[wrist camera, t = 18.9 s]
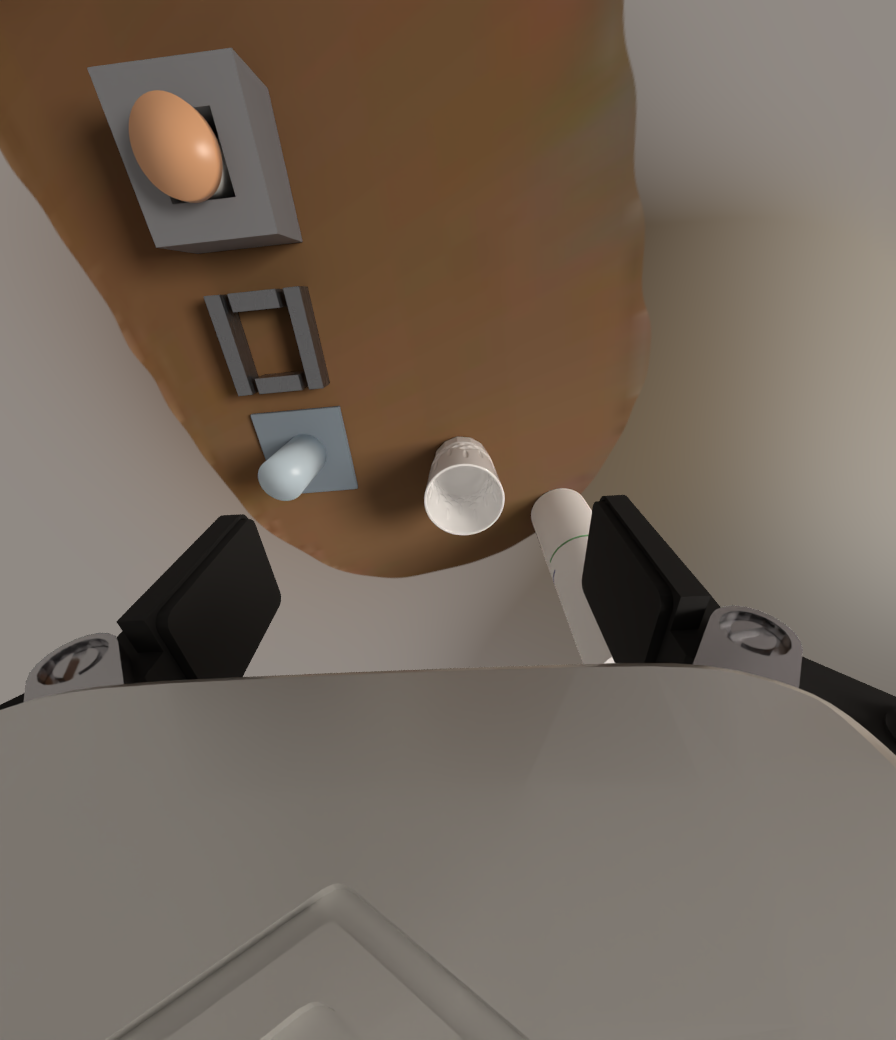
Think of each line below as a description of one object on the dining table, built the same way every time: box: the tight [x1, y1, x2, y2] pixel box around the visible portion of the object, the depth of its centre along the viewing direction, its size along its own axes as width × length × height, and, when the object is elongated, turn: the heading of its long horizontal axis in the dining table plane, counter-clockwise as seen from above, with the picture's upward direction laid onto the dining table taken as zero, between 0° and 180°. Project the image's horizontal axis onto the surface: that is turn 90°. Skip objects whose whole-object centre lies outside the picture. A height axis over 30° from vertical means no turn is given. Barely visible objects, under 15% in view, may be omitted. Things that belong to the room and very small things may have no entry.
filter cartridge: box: [258, 434, 327, 501], centre depth 42 cm, size 4×4×8 cm
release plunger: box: [129, 90, 236, 203], centre depth 30 cm, size 6×6×6 cm
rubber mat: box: [251, 406, 358, 493], centre depth 46 cm, size 10×10×1 cm
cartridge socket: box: [204, 286, 330, 396], centre depth 39 cm, size 9×9×2 cm
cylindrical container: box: [531, 488, 615, 664], centre depth 40 cm, size 7×7×25 cm
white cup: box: [424, 437, 504, 535], centre depth 43 cm, size 8×8×10 cm
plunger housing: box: [87, 48, 302, 254], centre depth 31 cm, size 10×10×6 cm
